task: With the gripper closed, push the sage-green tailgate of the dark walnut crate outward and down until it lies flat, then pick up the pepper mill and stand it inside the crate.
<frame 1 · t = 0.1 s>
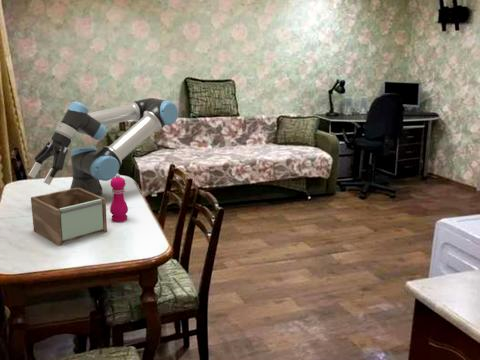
hand: (38, 180, 203), 15 cm above the table, tool tilted 35°, fingers open, 13 cm apart
crate: (70, 231, 191), on the table
tailgate: (82, 219, 182), point 8 cm above the table, hinge at 0.0°
pepper mill: (119, 220, 205), on the table
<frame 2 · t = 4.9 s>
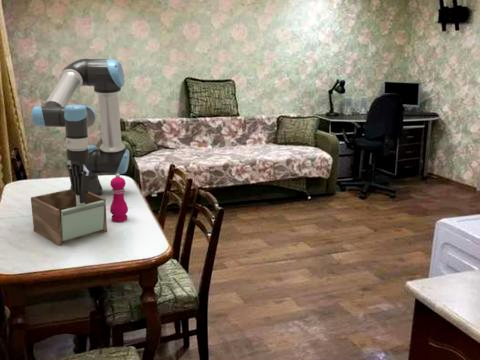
hand: (81, 210, 182), 11 cm above the table, tool pointing down, fingers closed
tailgate: (83, 220, 182), point 7 cm above the table, hinge at 8.0°, touching gripper
everything else where it was.
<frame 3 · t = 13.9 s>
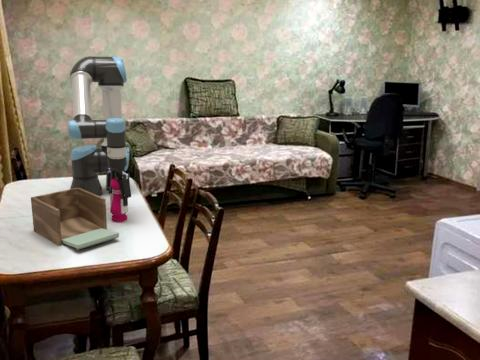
hand: (119, 210, 203), 4 cm above the table, tool pointing down, fingers closed on pepper mill, 7 cm apart
tailgate: (90, 238, 181), point 1 cm above the table, hinge at 82.5°
pepper mill: (119, 220, 205), on the table, touching gripper
when the fingers open (8 cm above the table, at t = 21.5 s): pepper mill drops 2 cm, resting on crate.
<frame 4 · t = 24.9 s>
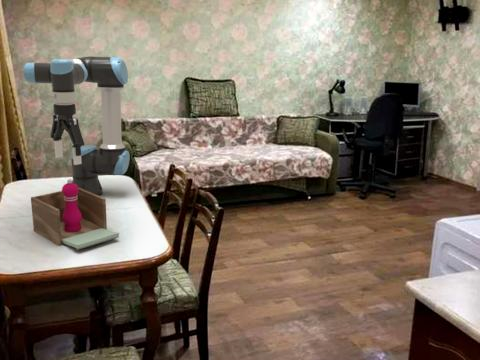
hand: (68, 160, 182), 29 cm above the table, tool pointing down, fingers open, 13 cm apart
pepper mill: (73, 229, 189), point 1 cm above the table, touching crate
everything else where it was.
at the end: tailgate at +82° (first picture: +0°); pepper mill inside the target area on the crate (1.2 cm from its centre), point 1.3 cm above the crate's base; pepper mill tilted 0° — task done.
